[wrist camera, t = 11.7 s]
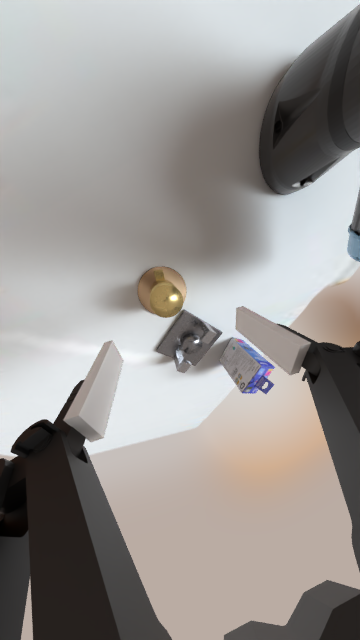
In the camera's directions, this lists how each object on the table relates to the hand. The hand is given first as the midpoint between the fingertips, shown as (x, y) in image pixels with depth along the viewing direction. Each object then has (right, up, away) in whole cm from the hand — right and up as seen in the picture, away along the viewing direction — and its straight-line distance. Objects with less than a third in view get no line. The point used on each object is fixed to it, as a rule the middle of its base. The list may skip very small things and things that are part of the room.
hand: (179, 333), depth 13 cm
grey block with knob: (+3, -4, +24) cm, 24 cm away
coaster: (-4, +8, +16) cm, 18 cm away
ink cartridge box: (+17, -9, +30) cm, 36 cm away
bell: (-4, +8, +16) cm, 18 cm away
